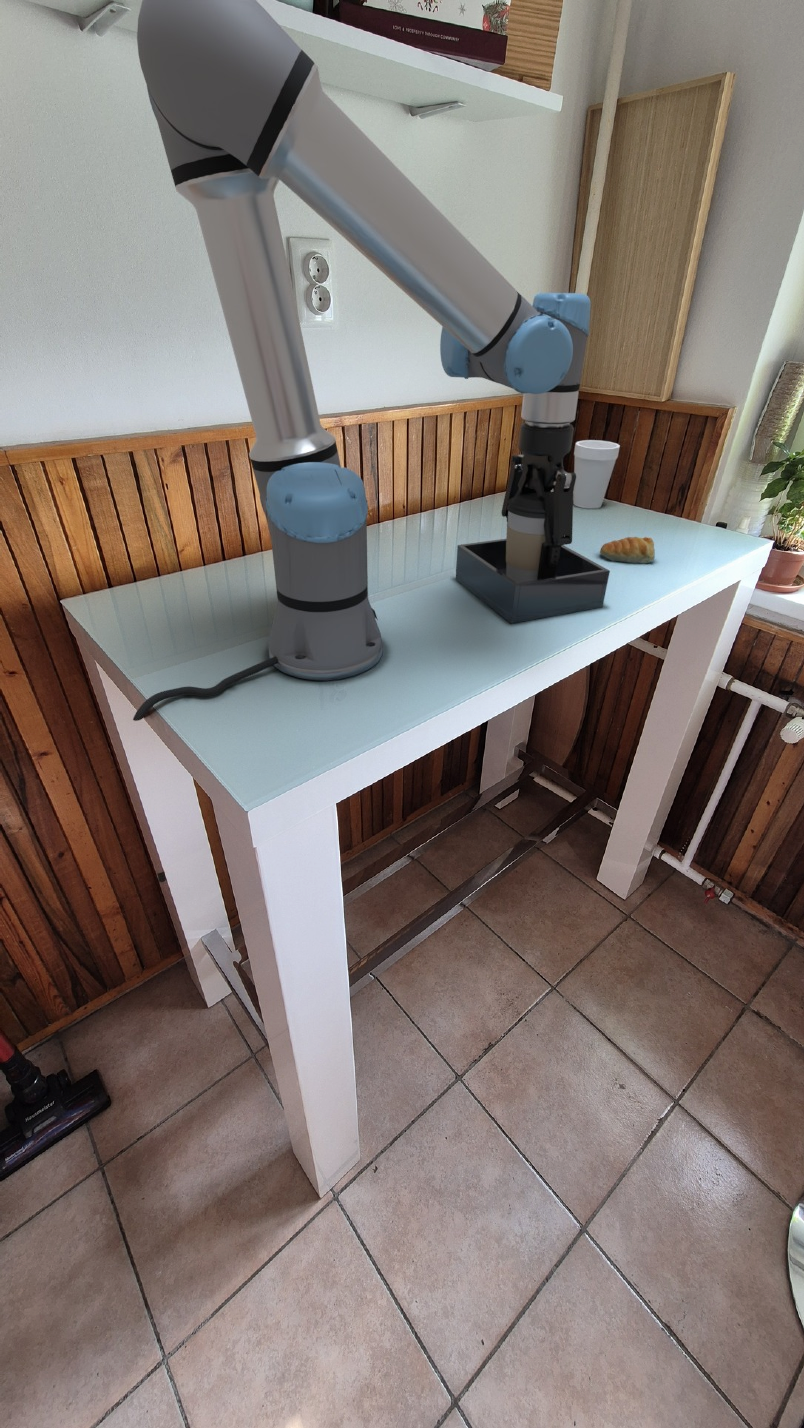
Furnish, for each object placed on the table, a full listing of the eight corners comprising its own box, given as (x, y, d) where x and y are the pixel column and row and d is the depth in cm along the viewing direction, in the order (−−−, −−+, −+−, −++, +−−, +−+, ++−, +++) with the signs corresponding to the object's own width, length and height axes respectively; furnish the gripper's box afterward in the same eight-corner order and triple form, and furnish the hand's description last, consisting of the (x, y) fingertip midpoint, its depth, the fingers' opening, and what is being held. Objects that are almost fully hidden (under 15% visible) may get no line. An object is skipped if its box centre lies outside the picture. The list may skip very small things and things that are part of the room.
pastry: (604, 564, 117) (608, 543, 115) (594, 551, 122) (598, 531, 120) (656, 564, 117) (660, 543, 115) (643, 551, 123) (647, 531, 121)
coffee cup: (555, 600, 101) (570, 503, 92) (497, 594, 102) (506, 498, 94) (555, 578, 108) (569, 486, 100) (501, 574, 110) (510, 483, 101)
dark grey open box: (511, 623, 96) (515, 585, 92) (455, 579, 110) (457, 544, 107) (602, 607, 101) (610, 570, 98) (538, 566, 115) (542, 533, 112)
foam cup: (567, 508, 145) (576, 447, 138) (565, 497, 153) (574, 439, 146) (610, 511, 144) (622, 449, 137) (606, 500, 152) (617, 441, 145)
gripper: (617, 434, 84) (588, 595, 97) (529, 409, 101) (514, 549, 113) (569, 438, 82) (546, 603, 94) (487, 411, 98) (476, 554, 111)
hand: (528, 573), depth 104 cm, fingers open, 9 cm apart
